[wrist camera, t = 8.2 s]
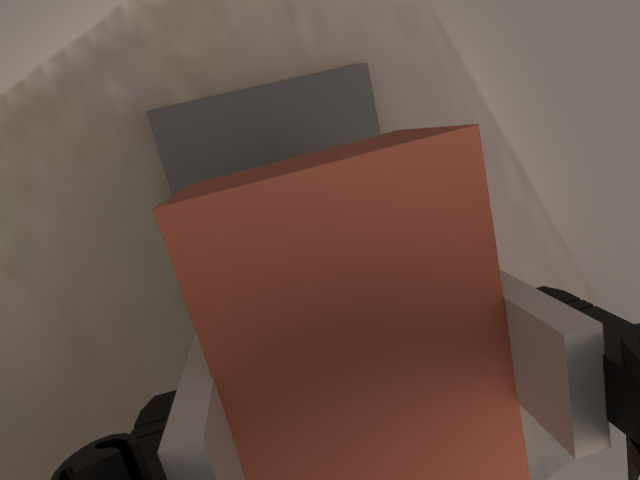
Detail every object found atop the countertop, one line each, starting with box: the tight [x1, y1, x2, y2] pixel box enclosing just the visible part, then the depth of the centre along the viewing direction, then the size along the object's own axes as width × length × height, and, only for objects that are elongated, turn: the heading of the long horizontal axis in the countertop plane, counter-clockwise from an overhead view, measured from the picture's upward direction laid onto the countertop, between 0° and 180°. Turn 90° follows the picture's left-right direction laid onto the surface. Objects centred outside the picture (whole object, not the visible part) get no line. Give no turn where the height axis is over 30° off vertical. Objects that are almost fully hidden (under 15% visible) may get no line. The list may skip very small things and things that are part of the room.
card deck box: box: [153, 124, 530, 480], centre depth 12 cm, size 10×6×5 cm, turn 14°
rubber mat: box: [147, 62, 380, 195], centre depth 30 cm, size 14×18×1 cm
